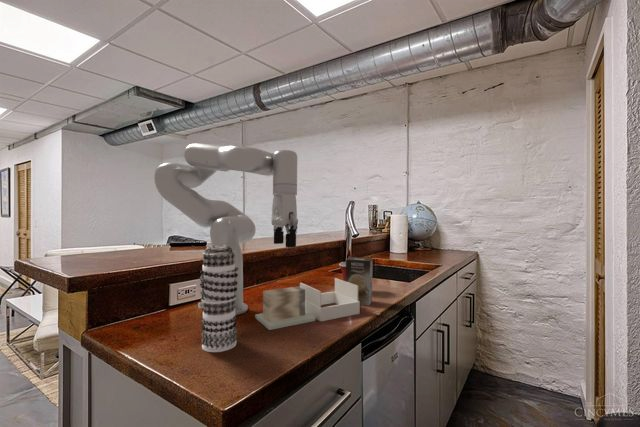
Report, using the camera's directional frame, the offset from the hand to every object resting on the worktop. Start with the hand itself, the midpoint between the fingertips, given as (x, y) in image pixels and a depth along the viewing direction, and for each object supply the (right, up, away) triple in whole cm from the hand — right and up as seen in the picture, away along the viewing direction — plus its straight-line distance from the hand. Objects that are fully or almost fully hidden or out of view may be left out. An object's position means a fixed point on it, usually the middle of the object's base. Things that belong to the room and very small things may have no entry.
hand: (284, 245), depth 102 cm
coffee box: (+25, -23, +17) cm, 38 cm away
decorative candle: (-14, -24, -20) cm, 34 cm away
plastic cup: (+24, -23, +33) cm, 47 cm away
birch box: (0, -22, -1) cm, 22 cm away
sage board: (0, -23, -1) cm, 23 cm away
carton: (+14, -23, +7) cm, 28 cm away
